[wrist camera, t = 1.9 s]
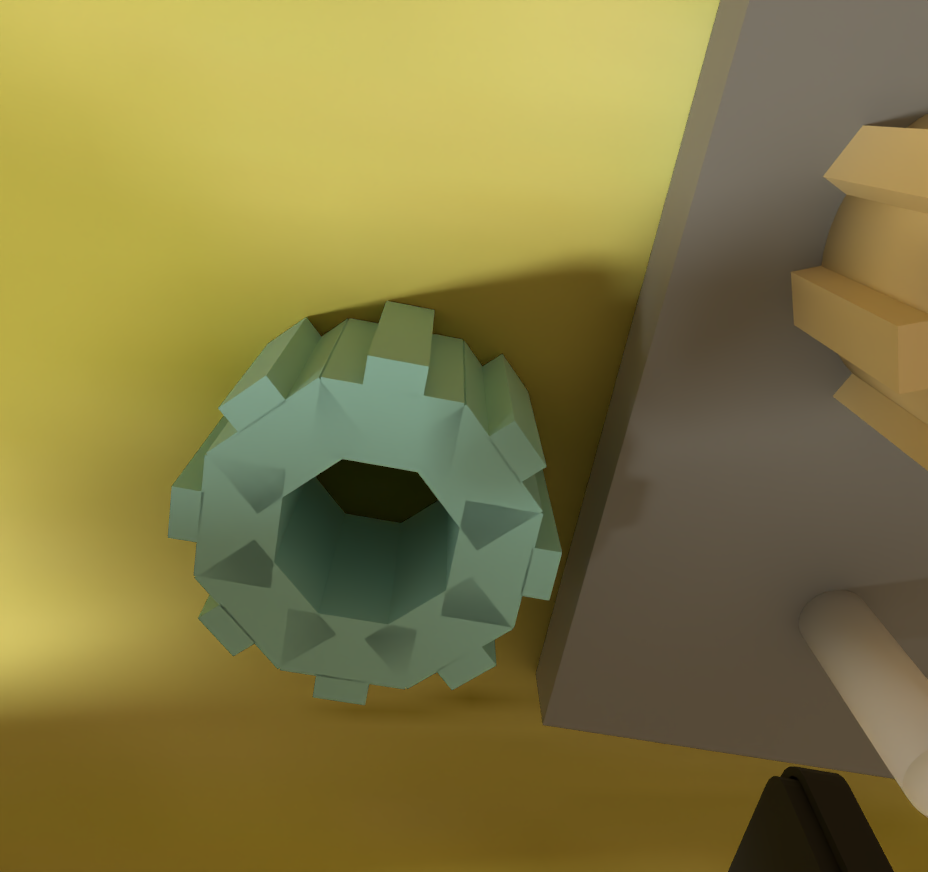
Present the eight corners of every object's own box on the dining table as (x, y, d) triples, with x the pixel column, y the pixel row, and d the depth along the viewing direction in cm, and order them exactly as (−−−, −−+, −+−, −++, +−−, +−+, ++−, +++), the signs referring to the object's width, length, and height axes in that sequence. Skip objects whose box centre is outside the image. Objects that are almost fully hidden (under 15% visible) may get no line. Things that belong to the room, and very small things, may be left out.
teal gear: (503, 611, 22) (514, 728, 18) (213, 564, 22) (156, 673, 17) (572, 336, 19) (603, 399, 15) (243, 273, 19) (184, 321, 15)
